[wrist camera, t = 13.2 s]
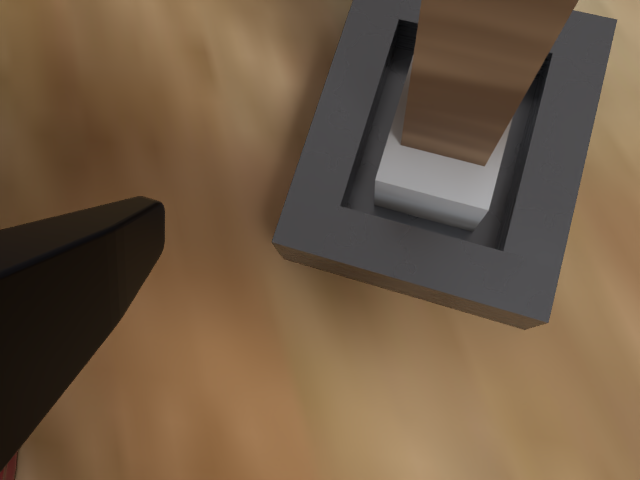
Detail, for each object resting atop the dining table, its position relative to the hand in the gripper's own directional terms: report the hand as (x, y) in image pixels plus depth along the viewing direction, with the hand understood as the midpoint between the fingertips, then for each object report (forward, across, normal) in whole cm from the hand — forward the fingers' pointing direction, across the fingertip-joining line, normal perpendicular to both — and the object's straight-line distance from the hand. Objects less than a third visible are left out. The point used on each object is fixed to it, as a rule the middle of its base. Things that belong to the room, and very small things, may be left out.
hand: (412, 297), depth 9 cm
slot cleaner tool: (+15, 0, +3) cm, 15 cm away
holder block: (+15, 0, +4) cm, 16 cm away
